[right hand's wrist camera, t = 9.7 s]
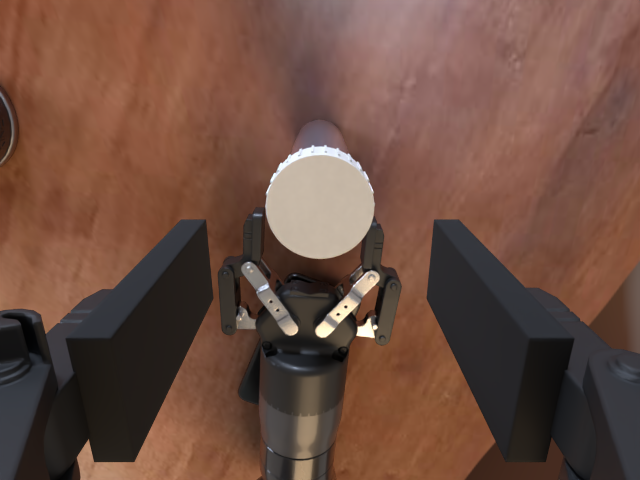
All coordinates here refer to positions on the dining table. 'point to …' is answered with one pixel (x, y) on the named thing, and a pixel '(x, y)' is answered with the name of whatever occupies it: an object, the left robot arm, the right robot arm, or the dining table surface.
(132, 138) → the dining table surface
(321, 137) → the bottle
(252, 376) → the smartphone
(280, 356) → the left robot arm
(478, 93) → the dining table surface
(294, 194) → the lid
